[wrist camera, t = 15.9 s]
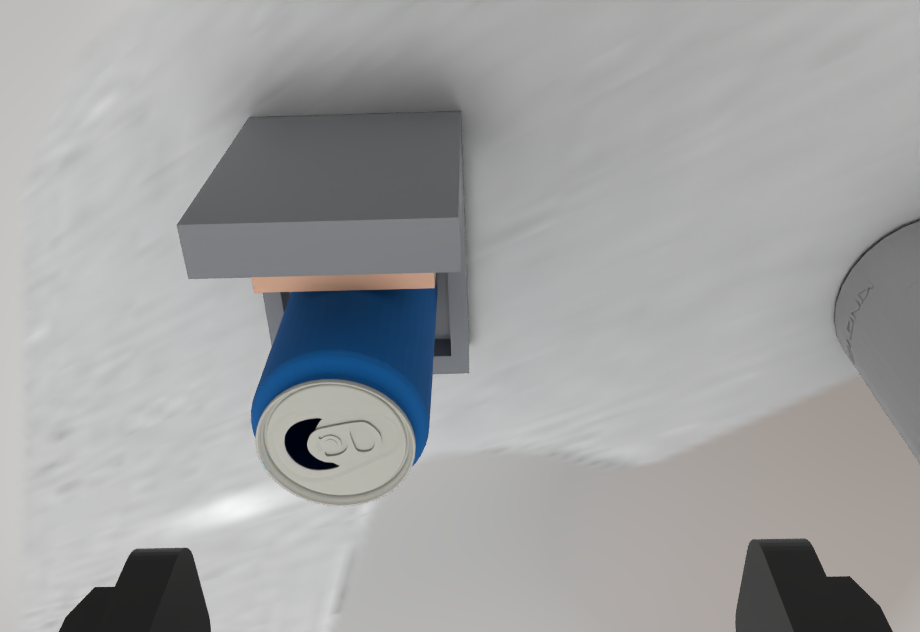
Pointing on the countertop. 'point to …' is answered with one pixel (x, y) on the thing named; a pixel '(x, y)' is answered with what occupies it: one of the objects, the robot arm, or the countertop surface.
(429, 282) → the thin tan plate
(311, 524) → the countertop surface
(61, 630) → the robot arm
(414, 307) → the beverage can
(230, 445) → the countertop surface
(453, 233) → the grey bracket
